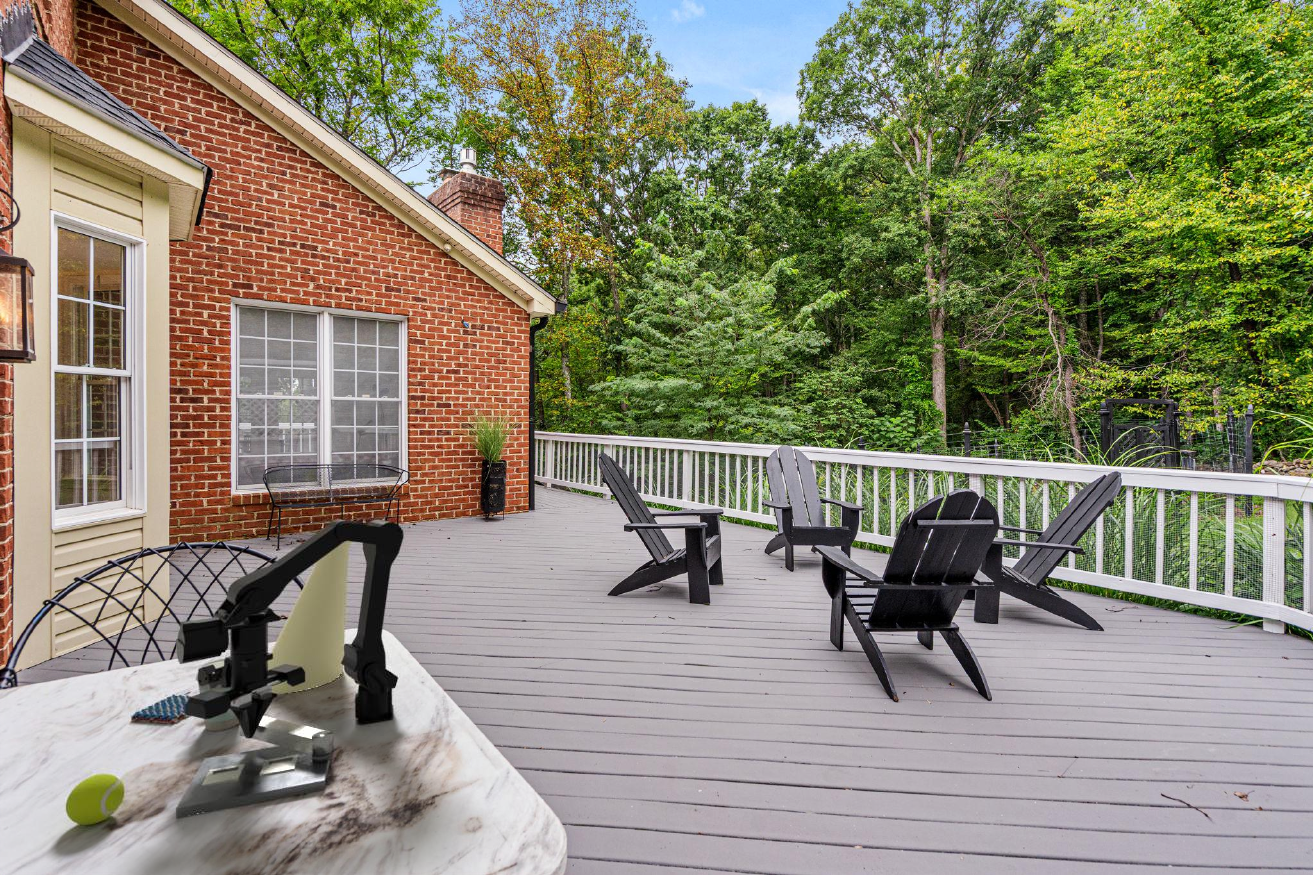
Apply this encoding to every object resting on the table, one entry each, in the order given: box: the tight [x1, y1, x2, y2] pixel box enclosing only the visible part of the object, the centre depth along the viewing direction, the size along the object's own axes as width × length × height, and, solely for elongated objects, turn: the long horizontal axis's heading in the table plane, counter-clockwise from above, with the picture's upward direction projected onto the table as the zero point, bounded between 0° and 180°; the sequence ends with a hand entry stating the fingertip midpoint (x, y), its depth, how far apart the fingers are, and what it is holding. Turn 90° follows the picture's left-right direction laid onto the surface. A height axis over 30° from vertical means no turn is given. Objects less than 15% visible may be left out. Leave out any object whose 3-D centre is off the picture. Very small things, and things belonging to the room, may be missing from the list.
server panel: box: [175, 745, 334, 819], centre depth 110 cm, size 21×16×2 cm
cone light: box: [268, 541, 352, 695], centre depth 152 cm, size 25×18×35 cm
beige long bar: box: [239, 715, 334, 756], centre depth 116 cm, size 21×3×3 cm, turn 67°
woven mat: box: [130, 693, 192, 724], centre depth 136 cm, size 10×11×2 cm
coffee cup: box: [195, 658, 239, 732], centre depth 129 cm, size 8×8×12 cm
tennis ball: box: [65, 773, 125, 826], centre depth 98 cm, size 7×7×7 cm
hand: (249, 737), depth 116 cm, fingers closed
